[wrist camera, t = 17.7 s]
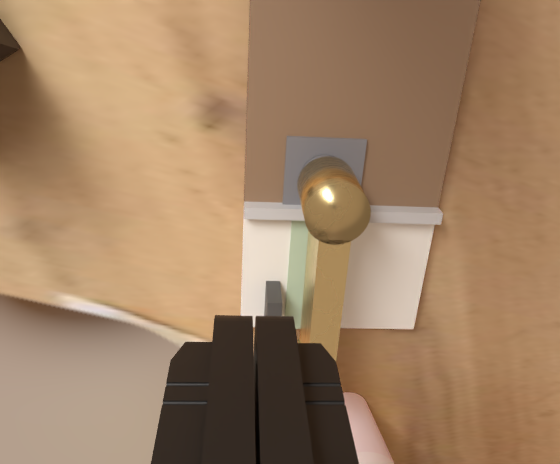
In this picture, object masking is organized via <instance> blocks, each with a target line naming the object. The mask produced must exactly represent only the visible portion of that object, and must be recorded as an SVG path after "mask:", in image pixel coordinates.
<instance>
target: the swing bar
mask: <svg viewBox="0 0 560 464" xmlns="http://www.w3.org/2000/svg"><path fill="white" fill-rule="evenodd" d="M297 189H298V194H299V198H300V203H301V207H302V211H303V215H304V220H305V224H306V227H307V229H308V242H307V254H306V266H305V278H304V290H303V302H302V314H301V327H300V339H299V340H298V343H321V344H322V345H323V347H324V348H325V349H326V350H327V351H328V353H329V354H330V355H331V356H332V357H333V359H334V360H335V361H336V360H337V352H338V343H339V335H340V327H341V319H342V311H343V303H344V294H345V286H346V278H347V270H348V262H349V254H350V246H351V241H352V240H354V239H356V238H357V237H359V236H360V235H361V234H362V233H363V232H364V230H365V229H366V227H367V225H368V223H369V221H370V216H371V208H370V204H369V201H368V199H367V197H366V195H365V193H364V192H363V190H362V188H361V186H360V184H359V182H358V180H357V178H356V176H355V174H354V172H353V171H352V169H351V167H350V166H349V165H348V164H347V163H346V162H345V161H343V160H341V159H339V158H337V157H331V156H324V157H319V158H316V159H314V160H312V161H311V162H309V163H308V164H307V165H306V166H305V167H304V168H303V169H302V171H301V172H300V175H299V177H298V182H297Z"/></svg>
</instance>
